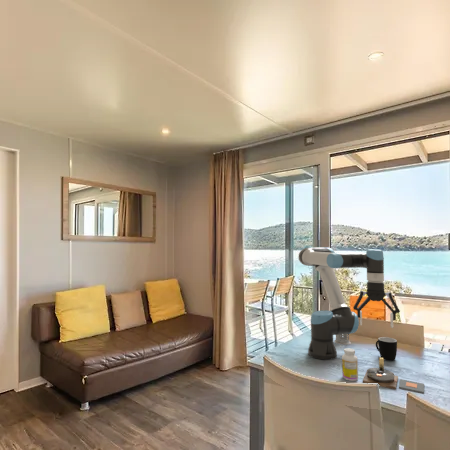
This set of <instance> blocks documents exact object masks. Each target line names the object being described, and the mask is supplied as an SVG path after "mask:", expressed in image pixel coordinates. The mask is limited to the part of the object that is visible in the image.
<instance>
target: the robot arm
mask: <svg viewBox="0 0 450 450" xmlns="http://www.w3.org/2000/svg"><path fill="white" fill-rule="evenodd" d="M297 257H298V260H299V262H300V263H301V264H302V265H304V266H308V267H315V270H316V271H317V272H319V275H320V277H321V280H322V284H323V288H324V290H325V293H326V296H327V300H328V303H329V306H330V310H328V309H327V310H326V309H325V310H316V311H314V312H312V313H311V315H310V331H311V332H310V334H311V335H310V336H311V337H310V339H311V340H310V343H309V346H308V350H307V352H308V353H307V354H308V356H309V357H310V358H311V357H312V358H313V359H318V360H334V359H336V358H337V357H338V351H337V348H336V346H335V342H334V336H336V335H339V334H342V335H343V334H347V335H348V334H349V335H350V334H354V333H356V332H357V331H358V329H359V325H360V326H363V312H362V310H363V309H364V307H365V306H366V305H368V303H369V302H371V301H372V302H383V304H384V306H385V305H386V307H387V308H388V309H389V310H390V311H391V312H390V313H389V314H390V315H389V316H390V328H392V329H393V328H394V321H396V319H397V318H396V314H398V313H399V314H400V312H401V310H400V309H399V307H398V305H397V304H396V301H395V300H394V298H393V293H392V292H390V291H388V292H385V282H384V281H385V274H384V272H385V269H384V268H385V267H384V266H385V264H384V263H385V261H384V259H385V258H384V251H383V250H382V249H367V250H366V252H335V250H333V249H332V248H331V247H326V246H322V247H316V246H315V247H304V248H303V249H301V250H300V251H299V252H298V256H297ZM347 268H348V269H349V268H350V269H353V268H354V269H355V268H357V269H358V268H364V269H366V280H367V282H366V291H364V290H360V291H359V296H358V298H357V299H356V301H355V303H354V306H353V308H352V309H353V310H354V311H356V312H354V311H351V308H350V306H348V305H347V304H346V302H345V298H344V295H343V292H342V289H341V287H340V283H339V281H338V278H337V277H338V276H337V275H336V271H335V269H347ZM365 295H366V297H367V298H366V299H365V300H364V301H363V302H362V303H361V301H362V299H363V297H364V296H365ZM385 296H386V297H387V298H388V299H389V300H390V302H391V304H392V306H393V307H392V306H391V305H390V303H388V302H387V301H386V300H385ZM360 303H361V304H360Z"/></svg>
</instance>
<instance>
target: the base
mask: <svg viewBox="0 0 450 450" xmlns="http://www.w3.org/2000/svg"><path fill="white" fill-rule="evenodd" d="M398 381H399V376H398V375H396V374H394V381H393V382H378V381H375V380H372V379H370V378H369V377H368V376H367V371H366V372H365V375H364V376H363V378H362V383H363V384H368V383H378V384H379V385H380V386H379V387H382V388H388V389H392V390H397V386H398V383H399V382H398Z"/></svg>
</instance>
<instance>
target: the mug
mask: <svg viewBox="0 0 450 450" xmlns="http://www.w3.org/2000/svg"><path fill="white" fill-rule="evenodd" d="M375 347H376V350H377V351H378V353H379V355H380V357H382V358H384V361H387V362H394V361H395V360H396V358H397V353H398V340H397V339H395V338H393V337H388V336H382V337H378V338H377V340H376V341H375Z"/></svg>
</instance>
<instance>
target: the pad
mask: <svg viewBox="0 0 450 450" xmlns="http://www.w3.org/2000/svg"><path fill="white" fill-rule="evenodd" d="M398 384H399V385H398V388H399V389H401V390H406V391H410V392H416V393H420V394H425V383H422V382H417V381H412V380H407V379H402V378H400V379H399V383H398Z"/></svg>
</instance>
